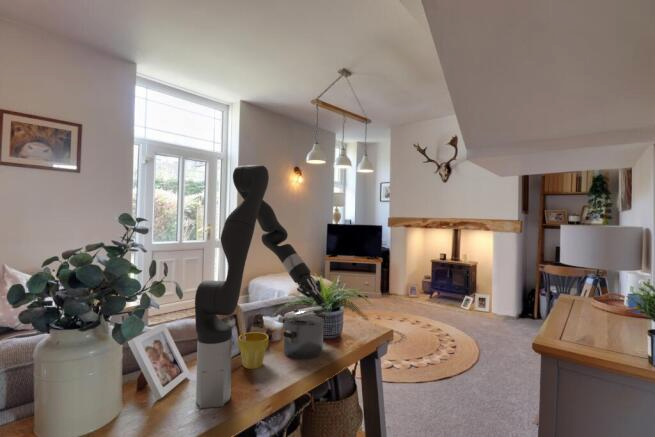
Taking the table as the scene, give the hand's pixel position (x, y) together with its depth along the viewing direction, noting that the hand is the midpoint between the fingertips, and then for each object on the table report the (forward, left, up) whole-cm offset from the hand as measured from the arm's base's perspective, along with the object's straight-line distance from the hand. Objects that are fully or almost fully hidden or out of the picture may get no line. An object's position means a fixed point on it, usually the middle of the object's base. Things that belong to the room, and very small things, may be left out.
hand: (321, 304), depth 129 cm
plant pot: (-3, +25, -20) cm, 32 cm away
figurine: (+18, +23, -20) cm, 35 cm away
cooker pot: (+6, +6, -19) cm, 21 cm away
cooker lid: (+5, +5, -5) cm, 9 cm away
